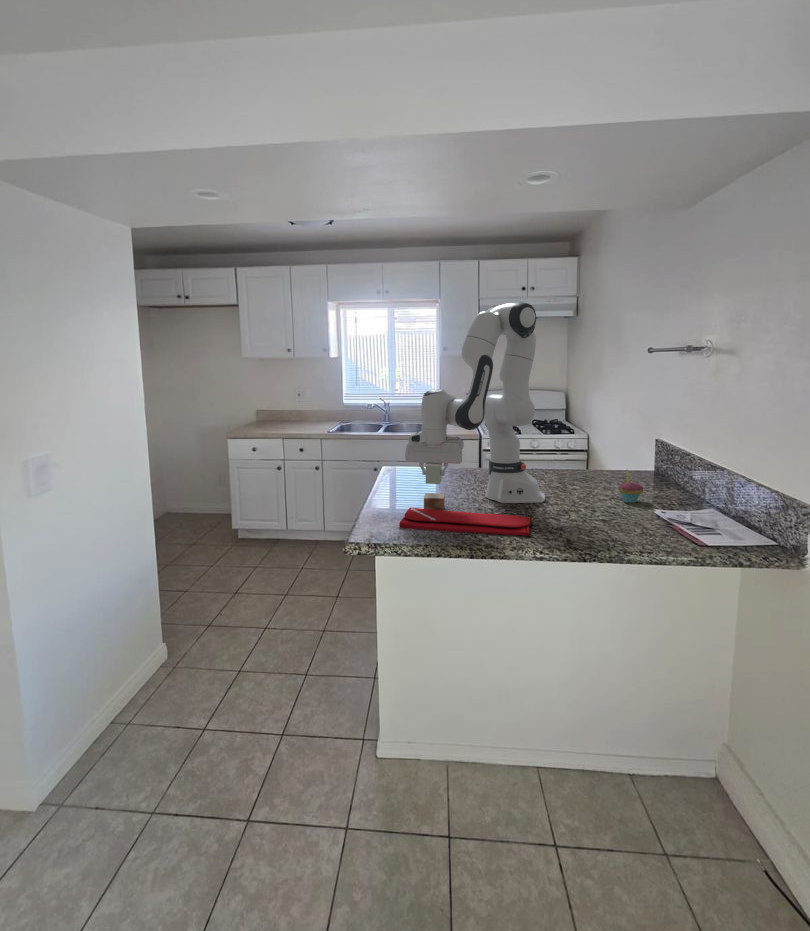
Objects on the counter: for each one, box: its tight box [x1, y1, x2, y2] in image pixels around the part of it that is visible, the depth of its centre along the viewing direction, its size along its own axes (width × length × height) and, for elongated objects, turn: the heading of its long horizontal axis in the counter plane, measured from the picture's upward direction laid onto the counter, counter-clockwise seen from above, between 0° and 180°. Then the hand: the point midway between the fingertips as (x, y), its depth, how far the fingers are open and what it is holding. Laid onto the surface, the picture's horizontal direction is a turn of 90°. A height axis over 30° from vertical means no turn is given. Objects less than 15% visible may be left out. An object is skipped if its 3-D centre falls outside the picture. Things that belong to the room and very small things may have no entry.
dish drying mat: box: [399, 507, 532, 537], centre depth 180 cm, size 16×41×4 cm, turn 76°
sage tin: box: [424, 463, 443, 485], centre depth 196 cm, size 5×5×7 cm
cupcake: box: [618, 470, 644, 504], centre depth 204 cm, size 9×8×12 cm
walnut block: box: [423, 492, 446, 510], centre depth 199 cm, size 7×7×5 cm
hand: (433, 475), depth 196 cm, fingers closed on sage tin, 5 cm apart
